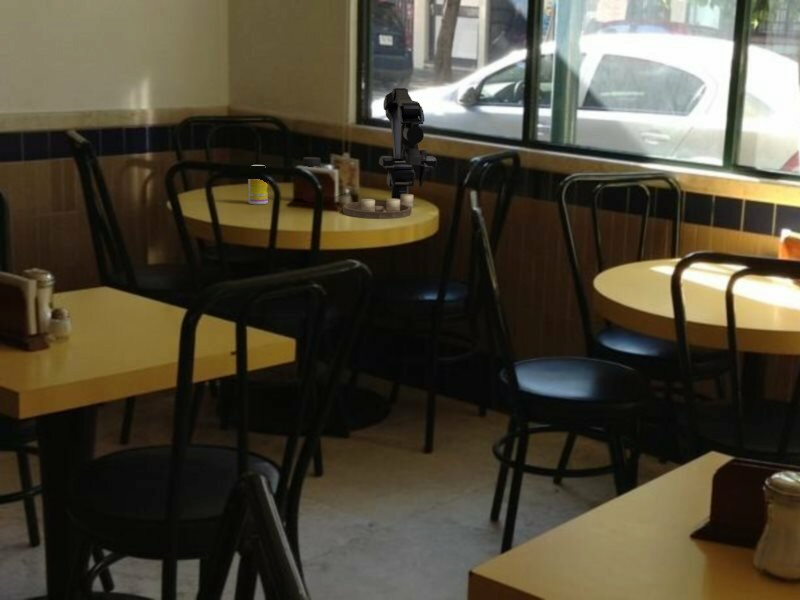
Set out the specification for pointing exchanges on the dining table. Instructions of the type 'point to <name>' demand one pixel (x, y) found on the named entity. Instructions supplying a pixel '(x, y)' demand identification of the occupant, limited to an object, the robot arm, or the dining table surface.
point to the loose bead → (407, 199)
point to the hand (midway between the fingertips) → (407, 186)
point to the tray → (375, 215)
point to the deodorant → (311, 161)
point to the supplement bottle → (257, 191)
